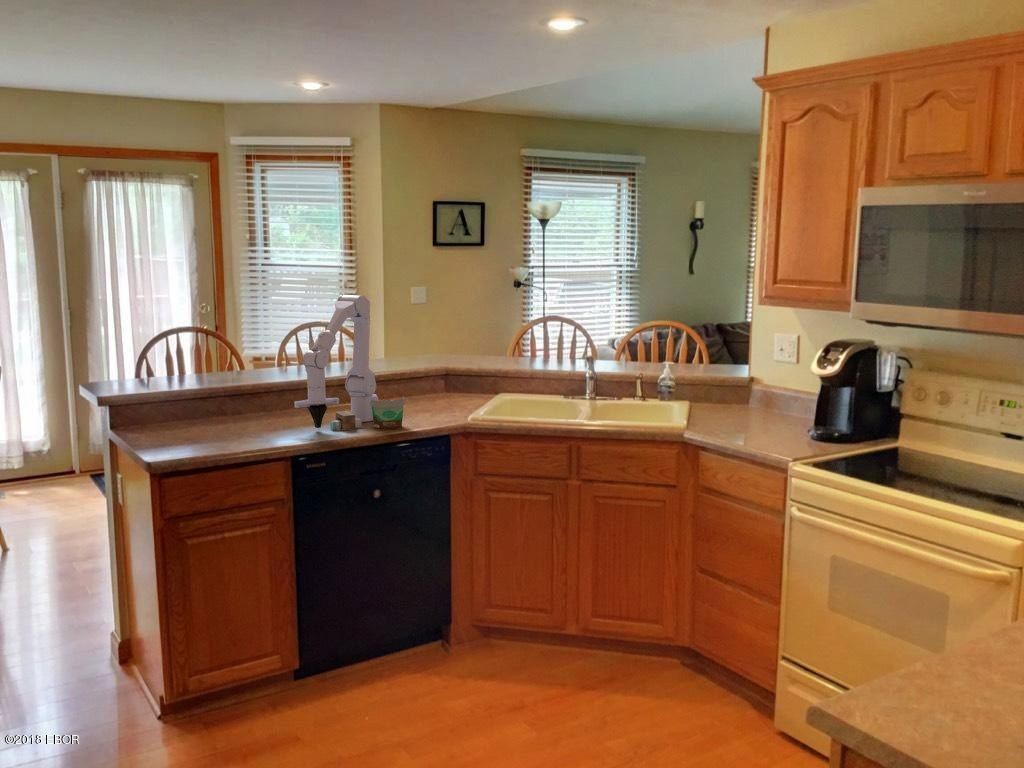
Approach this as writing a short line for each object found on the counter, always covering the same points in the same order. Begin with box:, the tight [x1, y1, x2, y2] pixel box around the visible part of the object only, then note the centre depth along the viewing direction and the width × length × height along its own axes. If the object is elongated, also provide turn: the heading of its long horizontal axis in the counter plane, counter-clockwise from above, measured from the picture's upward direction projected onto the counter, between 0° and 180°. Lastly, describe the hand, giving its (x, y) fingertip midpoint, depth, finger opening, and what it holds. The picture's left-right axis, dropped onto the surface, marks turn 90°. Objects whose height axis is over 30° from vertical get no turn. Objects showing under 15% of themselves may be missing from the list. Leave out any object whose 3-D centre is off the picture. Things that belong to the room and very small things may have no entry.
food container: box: [370, 396, 407, 431], centre depth 290 cm, size 12×6×10 cm, turn 117°
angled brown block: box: [335, 410, 357, 432], centre depth 291 cm, size 4×8×5 cm, turn 31°
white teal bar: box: [329, 418, 363, 431], centre depth 291 cm, size 10×3×3 cm, turn 121°
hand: (317, 427), depth 287 cm, fingers closed
